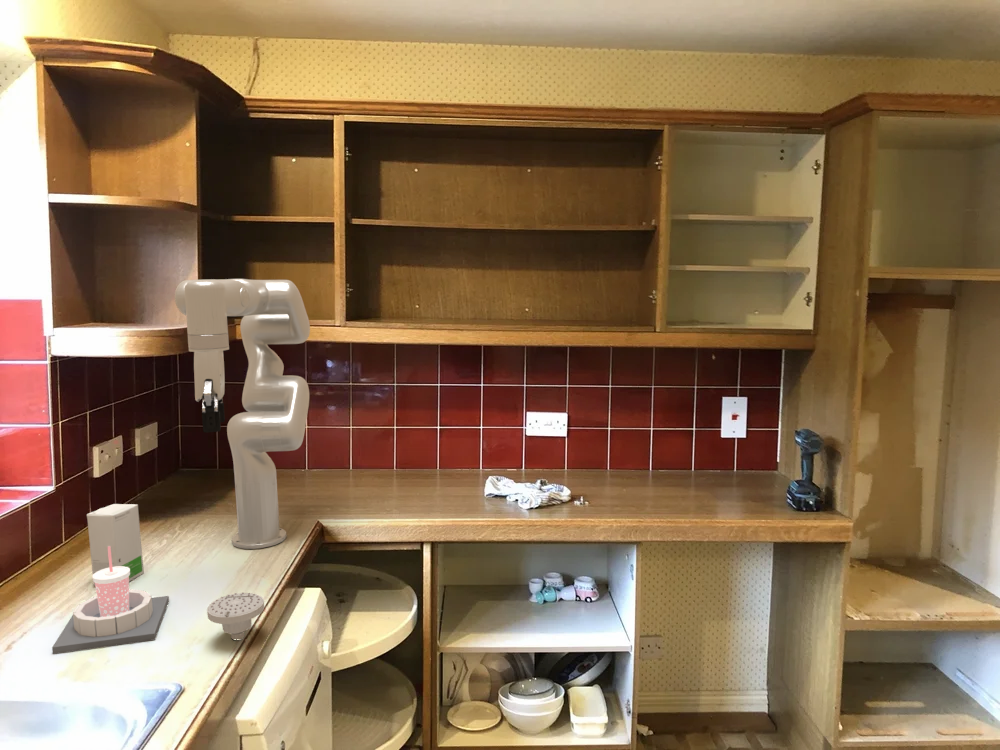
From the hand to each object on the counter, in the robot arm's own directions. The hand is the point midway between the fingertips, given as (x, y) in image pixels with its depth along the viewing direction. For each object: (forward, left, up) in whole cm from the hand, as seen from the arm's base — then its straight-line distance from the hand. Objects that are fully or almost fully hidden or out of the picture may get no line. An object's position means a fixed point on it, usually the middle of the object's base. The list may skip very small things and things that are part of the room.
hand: (214, 426), depth 147 cm
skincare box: (-9, -22, -34) cm, 41 cm away
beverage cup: (+14, -18, -32) cm, 39 cm away
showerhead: (+26, +4, -34) cm, 43 cm away
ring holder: (+14, -18, -33) cm, 40 cm away
